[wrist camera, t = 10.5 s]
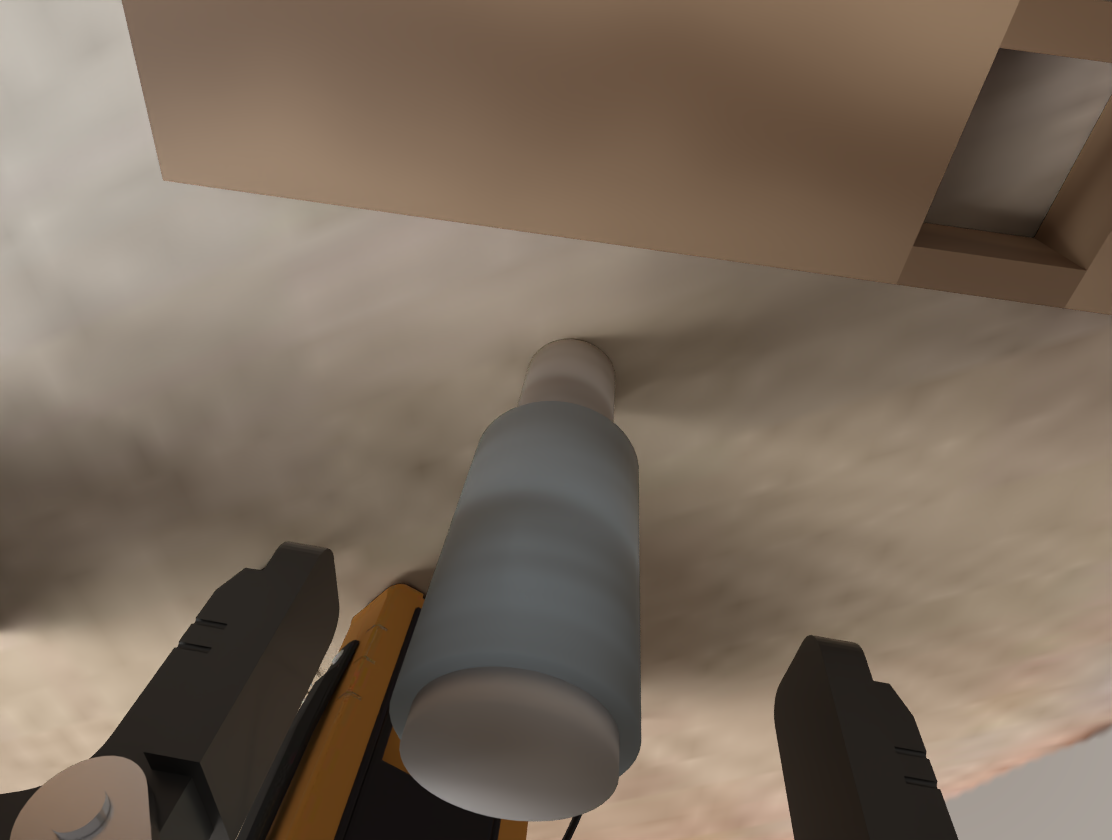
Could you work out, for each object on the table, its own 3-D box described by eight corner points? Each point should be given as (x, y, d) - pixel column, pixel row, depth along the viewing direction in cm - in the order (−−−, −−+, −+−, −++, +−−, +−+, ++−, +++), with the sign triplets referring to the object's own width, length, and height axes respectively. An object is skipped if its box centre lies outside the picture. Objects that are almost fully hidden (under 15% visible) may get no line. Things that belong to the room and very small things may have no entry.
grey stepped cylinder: (625, 441, 18) (618, 847, 10) (501, 423, 18) (383, 809, 10) (649, 328, 16) (666, 714, 8) (509, 308, 16) (370, 667, 8)
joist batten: (1161, 292, 15) (1229, 332, 13) (215, 159, 15) (163, 180, 13) (1336, 38, 12) (1453, 45, 10) (164, -116, 12) (91, -133, 11)
